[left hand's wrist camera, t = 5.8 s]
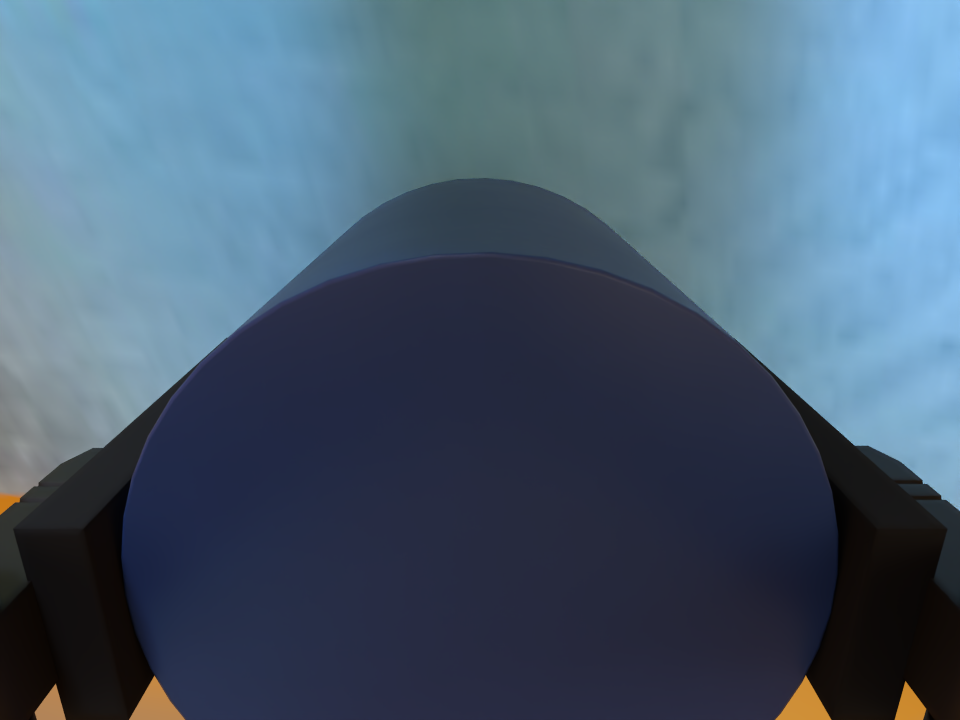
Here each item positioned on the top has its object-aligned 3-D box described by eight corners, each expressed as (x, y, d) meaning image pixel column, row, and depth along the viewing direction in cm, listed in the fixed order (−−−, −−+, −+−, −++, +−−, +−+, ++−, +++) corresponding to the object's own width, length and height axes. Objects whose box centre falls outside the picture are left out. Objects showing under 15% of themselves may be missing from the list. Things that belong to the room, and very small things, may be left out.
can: (706, 463, 16) (895, 755, 9) (385, 567, 17) (314, 907, 10) (601, 114, 14) (746, 117, 6) (227, 263, 15) (-33, 418, 7)
